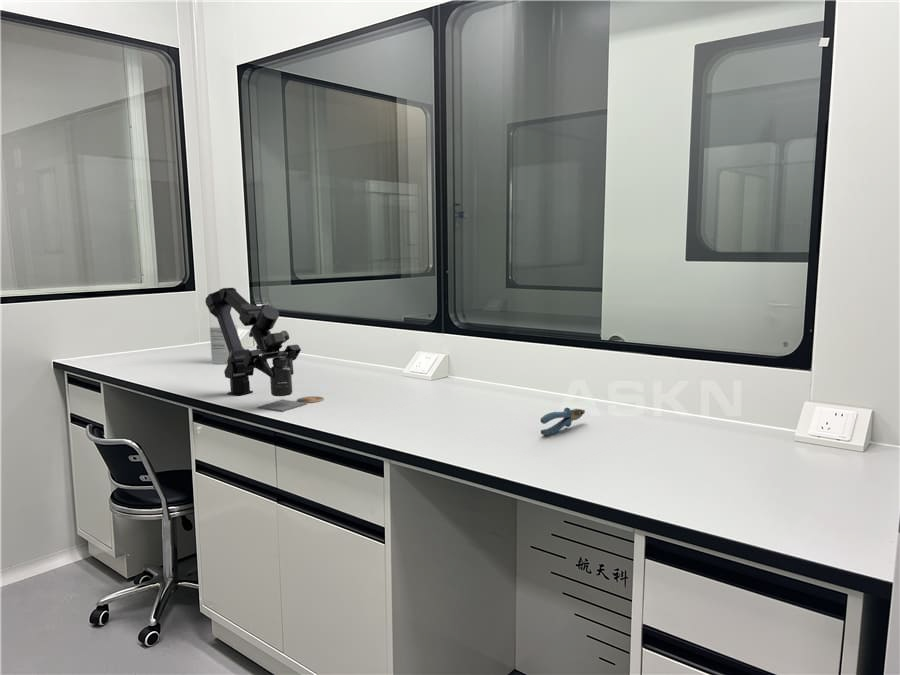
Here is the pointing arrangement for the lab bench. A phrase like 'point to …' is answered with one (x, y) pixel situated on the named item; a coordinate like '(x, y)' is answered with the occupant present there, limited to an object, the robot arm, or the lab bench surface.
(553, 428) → the pliers
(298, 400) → the walnut coaster
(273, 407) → the charcoal mat
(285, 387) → the supplement bottle
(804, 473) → the lab bench surface
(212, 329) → the supplement box
